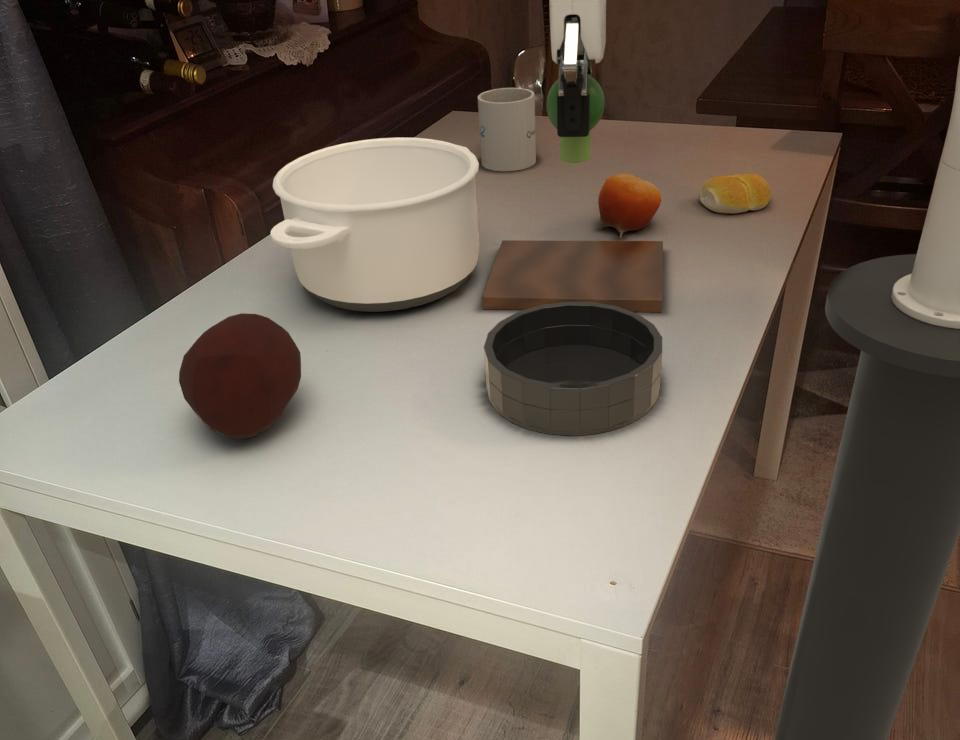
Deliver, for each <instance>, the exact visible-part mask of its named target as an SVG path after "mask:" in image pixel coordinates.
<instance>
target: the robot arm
mask: <svg viewBox="0 0 960 740" xmlns="http://www.w3.org/2000/svg"><path fill="white" fill-rule="evenodd" d="M548 4H549V6H548V7H549V30H550V32H549V34H550V49H551V61H553V63H555V64H556V65H558V79H559V94H557V129H556V133H557V134H556V135H557V136H558V137H559V138H560V137H586V136H588V134H589V114H590V94H587V78H588V75H589V76H591V77H593V78H594V79H595V77H594V75H592V74H593V60H594V63H595V64H599V63H601V62H602V60H603V59H604V54H605V49H606V42H607V0H549V2H548ZM581 73H582V74H581ZM943 144H944V145H943V147H942V151H941V152H942V153H941V156H940V159H939V162H938V167H937V172H936V174H935V179H934V183H933V188H932V191H931V194H930V200H929V203H928V208H927V212H926V216H925V220H924V224H923V227H922V232H921V236H920V240H919V243H918V247H917V248H918V249H917V251H916V254H917V255H916V259H915V263H914V267H913V271H912V274H909V275H907V276H904V277H903V278H901V279H899V280H898V281H897V282H896V283H895V284H894V287H893V290H892V295H891V298H892V301H893V303H894V304H895V306H896V307H897V308H898V309H899V310H901V311H902V312H903V313H905V314H906V315H908V316H910V317H912V318H914V319H917V320H919V321H922V322H925V323H928V324H931V325H935V326H940V327H945V328H952V329H960V57H959V58H958V65H957V74H956V81H955V90H954V96H953V101H952V109H951V113H950V118H949V123H948V127H947V132H946V136H945V140H944V143H943Z"/></svg>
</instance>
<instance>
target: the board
mask: <svg viewBox="0 0 960 740" xmlns="http://www.w3.org/2000/svg"><path fill="white" fill-rule="evenodd" d="M663 271H664V241H663V240H527V239H526V240H520V239H519V240H512V239H511V240H508V239H507V240H505V239H504V240H501V243H500V245H499V248H498V250H497V253H496V257H495V259H494V262H493V265H492V267H491V271H490V273H489V277H488V279H487V282H486V284H485V288H484V290H483V293H482V296H481V304H482V309H483V310H508V311H509V310H516V311H517V310H519V311H523V310H526V309H529V308H533V307H536V306H539V305H545V304H553V303H560V302H595V303H601V304H607V305H613V306H617V307H620V308H623V309H626V310H629V311H631V312H634V313H662V312H663V300H664V298H663V296H664V294H663V293H664V290H663V289H664V277H663V276H664V272H663Z"/></svg>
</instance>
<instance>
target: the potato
mask: <svg viewBox="0 0 960 740" xmlns="http://www.w3.org/2000/svg"><path fill="white" fill-rule="evenodd" d="M301 361H302V359H301V351H300V349H299V348H298V345H297V344H296V342H295V341H294V339H293V338H292V336H291V334H290V333H289V331H287V330H286V329H285V328H284V327H283V326H281V325H280V324H278V323H277V322H275V321H274V320H273V319H271V318H269V317H268V316H265V315H261V314H259V313H258V314H257V313H243V312H242V313H238V314H234V315H229V316H227V317H226V318H224V319H222V320H221V321H219V322H217V323H215V324H214V325H212V326H210V327H209V328H208V329H207V330H205V331H204V332H203V333H202V334H201V335H200V336H199V337H198V338H197V339H196V340H195V341H194V343H193V344H191V346H190V347H189V349H188V350H187V351H186V352H185V354H183V357H182V360H181V365H180V368H179V372H178V383H179V386H180V389H181V390H180V391H181V393H182V396H183V399H184V400H185V402H186V403H187V404H188V406H189V407H190V408H191V409H192V411H193V412H194V413H195V414H196V416H197V417H198V418H199V419H200V420H201V421H202V422H203V423H204V424H205V425H206V426H207V427H209V428H210V429H211V431H214V432H216V433H218V434H220V435H223V436H224V437H226V438H230V439H240V440H244V439H248V438H251V437H256V436H257V435H259V434H261V433H262V432H264V431H267V430H268V429H269V428H270V427H271V426H272V425H273V424H274V423H275V422H277V420H278V419H279V418H280V417H281V416H282V415H283V413H284V412H285V410H286V408H287V407H288V405H289V403H290V402H291V400H292V398H293V397H294V395H295V394H296V392H297V391H298V389H299V385H300V382H301V378H302V362H301Z"/></svg>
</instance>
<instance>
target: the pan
mask: <svg viewBox="0 0 960 740" xmlns="http://www.w3.org/2000/svg"><path fill="white" fill-rule="evenodd" d="M483 357H484V371H485V373H484V375H485V387H486V390H487V397H488V400H489V402H490V404H491V405H492V407H493V409H494V410H495V411H496V412H497V413H498V414H499V415H500V416H502V417H503V418H504V419H506V420H507V421H509V422H511V423H512V424H514V425H516V426H519V427H520V428H523V429H525V430H529V431H533V432H537V433H540V434H541V433H542V434H547V435H553V436H554V435H555V436H564V437H565V436H569V437H570V436H572V437H573V436H574V437H575V436H576V437H577V436H589V435H596V434H604V433H607V432H610V431H611V432H612V431H614V430H618V429H621V428H624V427H627V426H628V425H630V424H633V423H634V422H636V421H637V420H639V419H641V418H642V417H644V416H645V415H646V414H647V413H648V412H649V411H650V410H651V409H652V408H653V407H654V405H655V404H656V402H657V400H658V397H659V394H660V391H661V375H662V363H663V362H662V361H663V336H662V335H661V333H660V332H659V330H658V328H657V327H656V325H655V324H654V323H652V322H651V321H649V320H648V319H646V318H644V316H642V315H640V314H639V313H638V312H631V311H629V310H626V309H623V308H620V307H617V306H613V305H607V304H601V303H595V302H560V303H553V304H545V305H539V306H536V307H533V308H529V309H526V310H519V311H517V312H515V313H513V314H511V315H510V316H507V317H506V318H504V319H502V320H500V321H499V322H497V324H495V326H493V328H491V329H490V331H489V332H488V333H487V336H486V338H485V342H484V345H483Z"/></svg>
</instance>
